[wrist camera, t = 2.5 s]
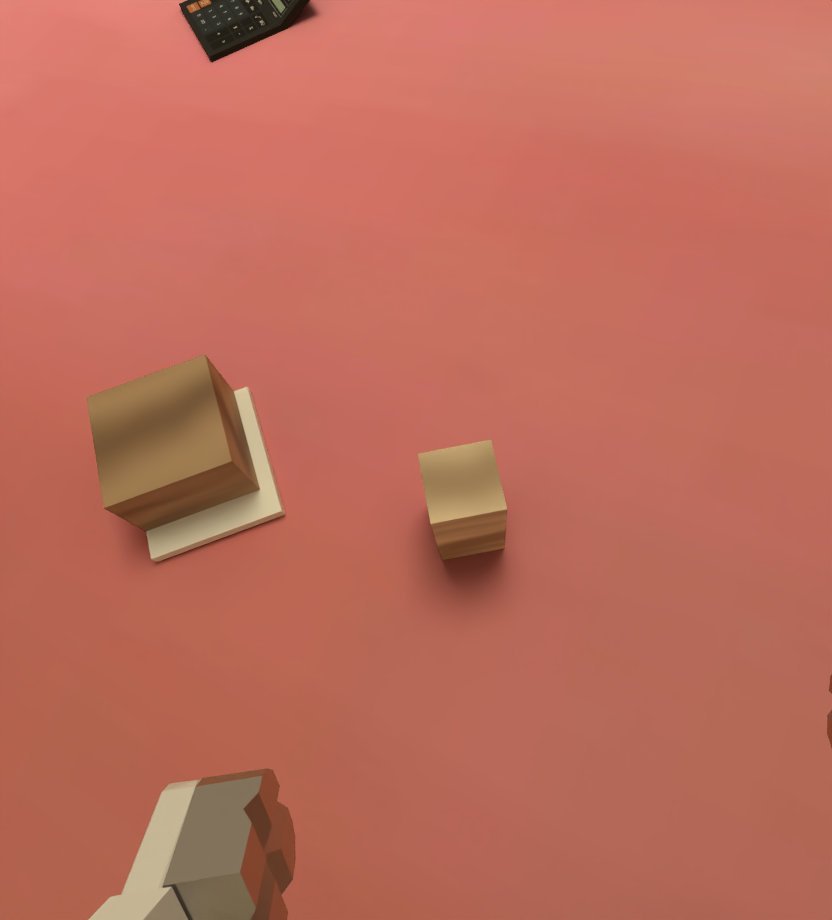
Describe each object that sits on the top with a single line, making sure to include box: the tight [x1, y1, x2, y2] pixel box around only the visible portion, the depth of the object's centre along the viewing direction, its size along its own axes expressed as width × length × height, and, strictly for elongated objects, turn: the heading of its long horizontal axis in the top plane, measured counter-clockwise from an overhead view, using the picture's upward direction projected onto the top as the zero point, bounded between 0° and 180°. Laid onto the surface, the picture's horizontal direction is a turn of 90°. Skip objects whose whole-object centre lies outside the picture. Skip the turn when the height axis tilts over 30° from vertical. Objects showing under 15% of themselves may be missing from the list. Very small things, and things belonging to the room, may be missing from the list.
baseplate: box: [146, 387, 285, 562], centre depth 44 cm, size 10×9×1 cm
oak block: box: [418, 440, 507, 560], centre depth 37 cm, size 4×4×8 cm
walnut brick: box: [87, 355, 260, 531], centre depth 42 cm, size 8×8×5 cm
